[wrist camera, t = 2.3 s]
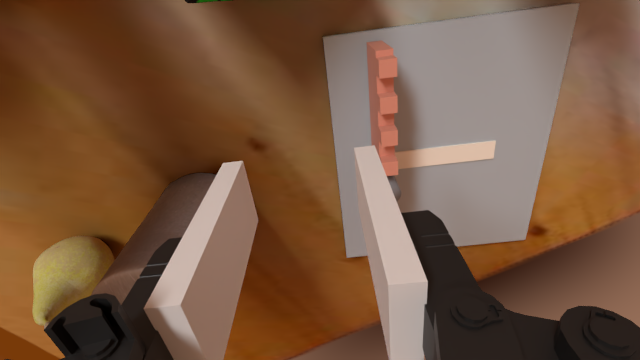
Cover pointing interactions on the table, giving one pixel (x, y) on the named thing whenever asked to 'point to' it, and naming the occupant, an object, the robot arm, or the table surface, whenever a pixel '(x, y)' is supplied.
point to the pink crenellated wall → (383, 103)
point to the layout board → (456, 117)
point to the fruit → (67, 274)
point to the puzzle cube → (200, 0)
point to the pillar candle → (155, 232)
